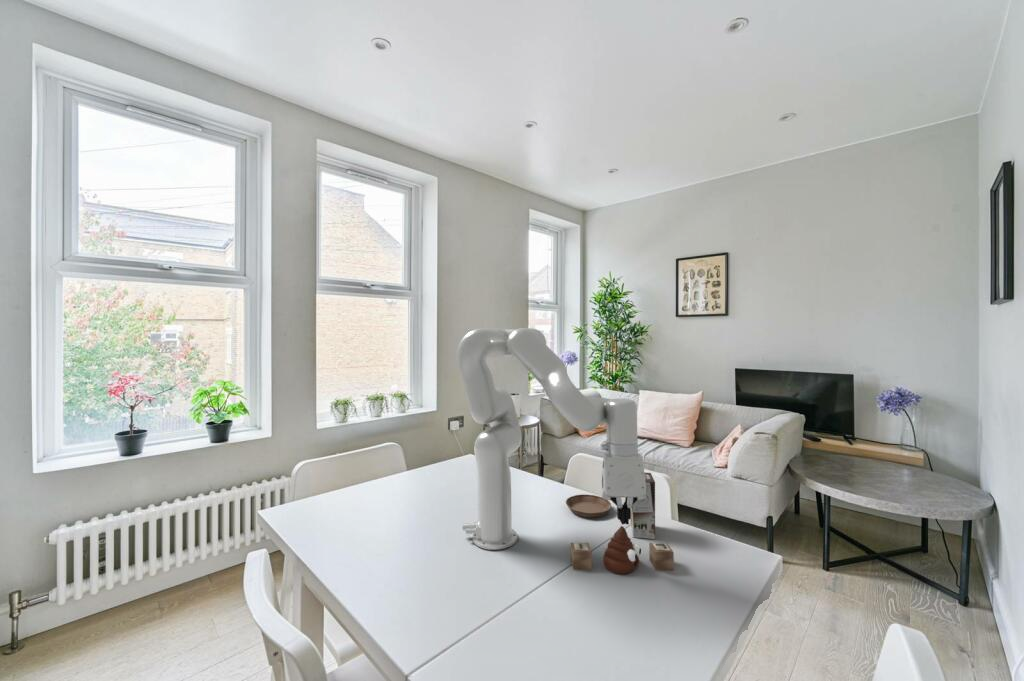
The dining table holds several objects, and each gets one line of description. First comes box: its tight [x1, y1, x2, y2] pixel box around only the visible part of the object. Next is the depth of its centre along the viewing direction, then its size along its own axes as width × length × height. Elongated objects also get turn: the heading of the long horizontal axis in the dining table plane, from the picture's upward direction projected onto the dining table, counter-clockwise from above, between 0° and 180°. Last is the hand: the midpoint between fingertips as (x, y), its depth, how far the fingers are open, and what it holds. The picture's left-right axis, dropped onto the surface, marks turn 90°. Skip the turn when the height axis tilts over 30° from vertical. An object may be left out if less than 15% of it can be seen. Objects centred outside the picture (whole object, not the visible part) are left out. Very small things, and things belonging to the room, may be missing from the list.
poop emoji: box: [602, 525, 642, 575], centre depth 103 cm, size 10×8×9 cm
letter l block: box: [648, 542, 675, 571], centre depth 103 cm, size 4×4×5 cm
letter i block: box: [570, 542, 592, 571], centre depth 104 cm, size 4×4×5 cm
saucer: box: [565, 494, 612, 518], centre depth 137 cm, size 15×15×3 cm
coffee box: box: [629, 471, 656, 540], centre depth 121 cm, size 9×6×16 cm
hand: (624, 521), depth 103 cm, fingers closed
